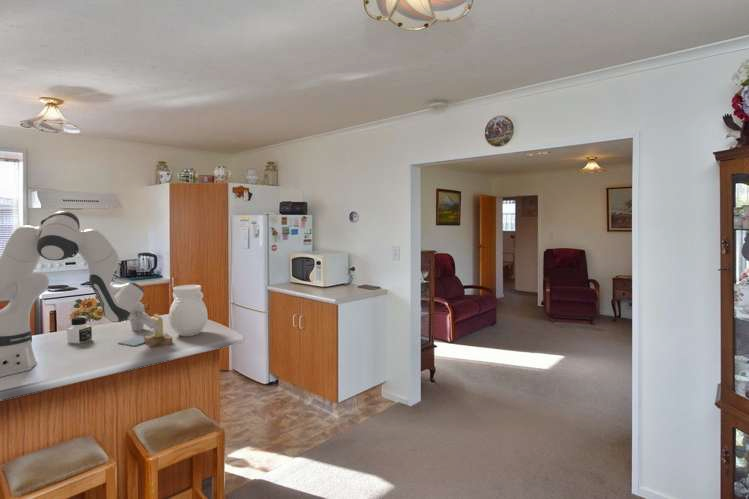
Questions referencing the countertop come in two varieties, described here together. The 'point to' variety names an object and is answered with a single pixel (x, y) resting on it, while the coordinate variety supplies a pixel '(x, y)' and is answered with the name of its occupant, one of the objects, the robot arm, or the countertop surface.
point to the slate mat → (133, 341)
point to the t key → (159, 321)
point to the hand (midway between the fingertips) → (157, 327)
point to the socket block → (158, 340)
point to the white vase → (188, 310)
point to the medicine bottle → (79, 331)
